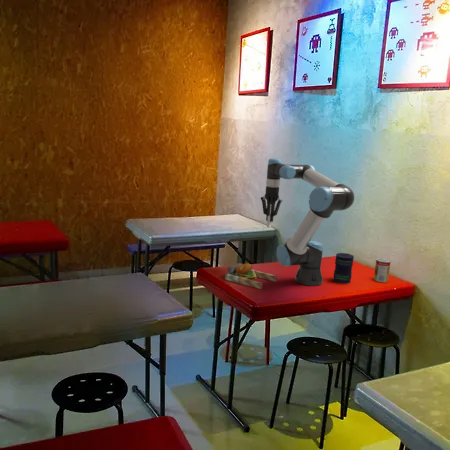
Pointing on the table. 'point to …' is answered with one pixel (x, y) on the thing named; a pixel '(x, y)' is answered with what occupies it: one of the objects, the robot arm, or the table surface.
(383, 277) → the canned food
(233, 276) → the open wooden tray
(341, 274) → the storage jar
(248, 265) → the cheeseburger
